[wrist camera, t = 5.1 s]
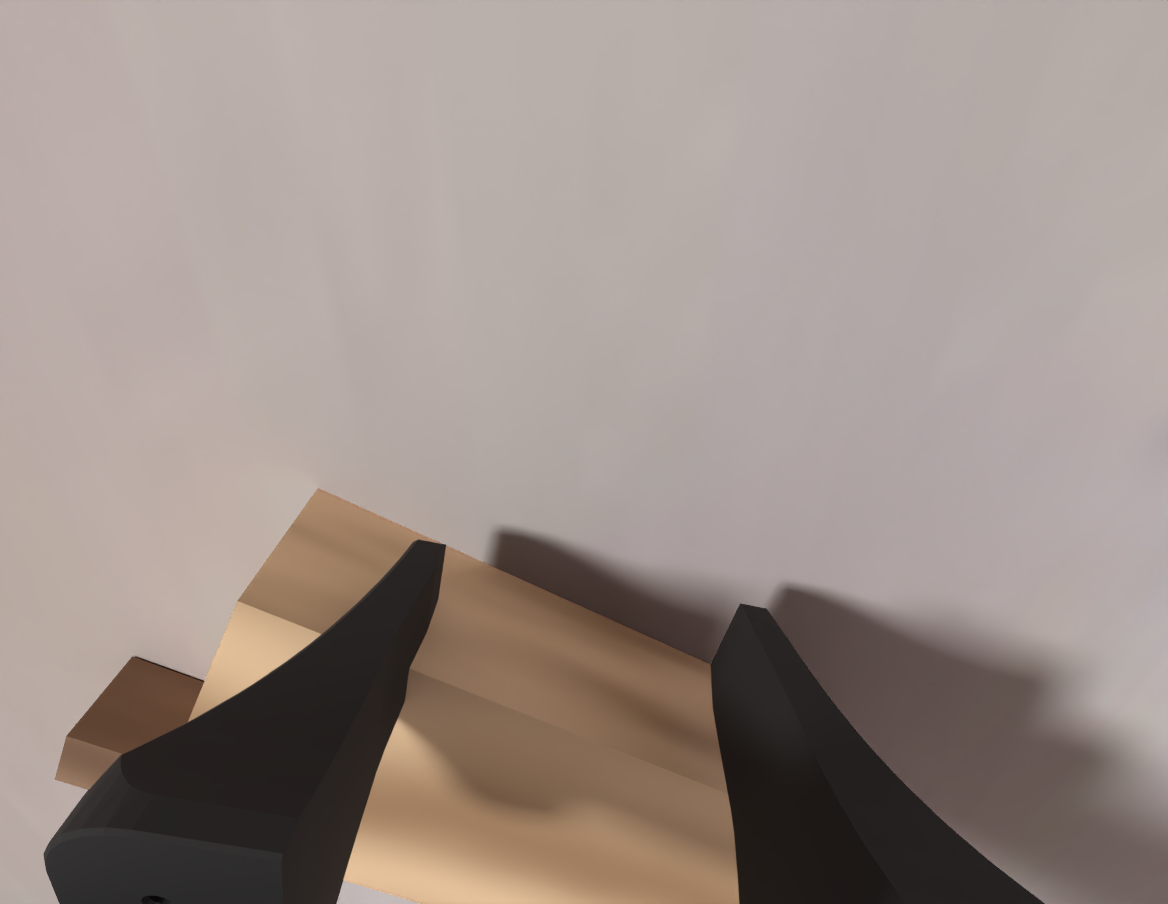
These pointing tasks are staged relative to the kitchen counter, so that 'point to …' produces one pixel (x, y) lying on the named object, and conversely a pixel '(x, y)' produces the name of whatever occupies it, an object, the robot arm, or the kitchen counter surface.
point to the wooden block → (506, 732)
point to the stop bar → (126, 719)
